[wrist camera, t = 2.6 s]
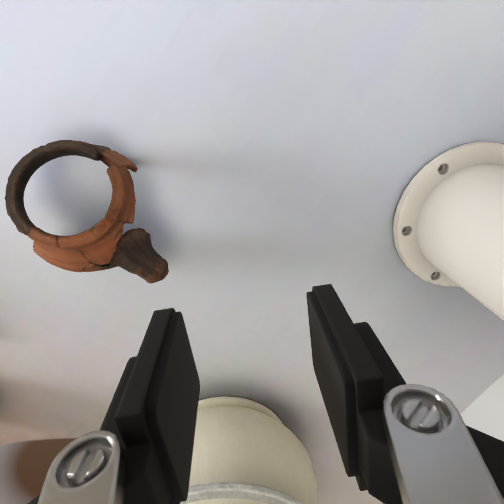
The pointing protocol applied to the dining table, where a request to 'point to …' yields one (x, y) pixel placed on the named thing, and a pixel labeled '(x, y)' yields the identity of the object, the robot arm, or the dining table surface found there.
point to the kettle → (247, 457)
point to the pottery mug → (101, 235)
